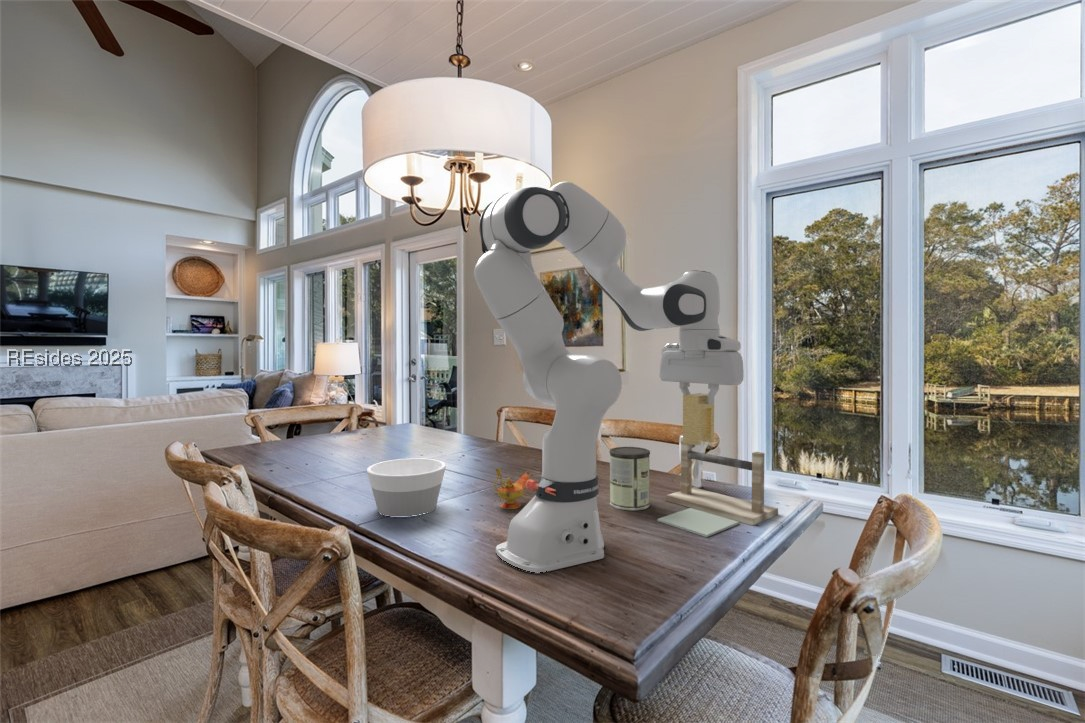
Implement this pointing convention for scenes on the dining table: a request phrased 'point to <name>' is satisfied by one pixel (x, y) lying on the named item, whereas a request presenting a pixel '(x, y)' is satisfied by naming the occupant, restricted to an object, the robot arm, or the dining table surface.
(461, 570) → the dining table surface
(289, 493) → the dining table surface
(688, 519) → the mat
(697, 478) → the beer glass
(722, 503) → the stand
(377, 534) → the dining table surface
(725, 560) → the dining table surface
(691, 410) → the tan upright block
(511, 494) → the magic lamp
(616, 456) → the coffee can
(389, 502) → the bowl
